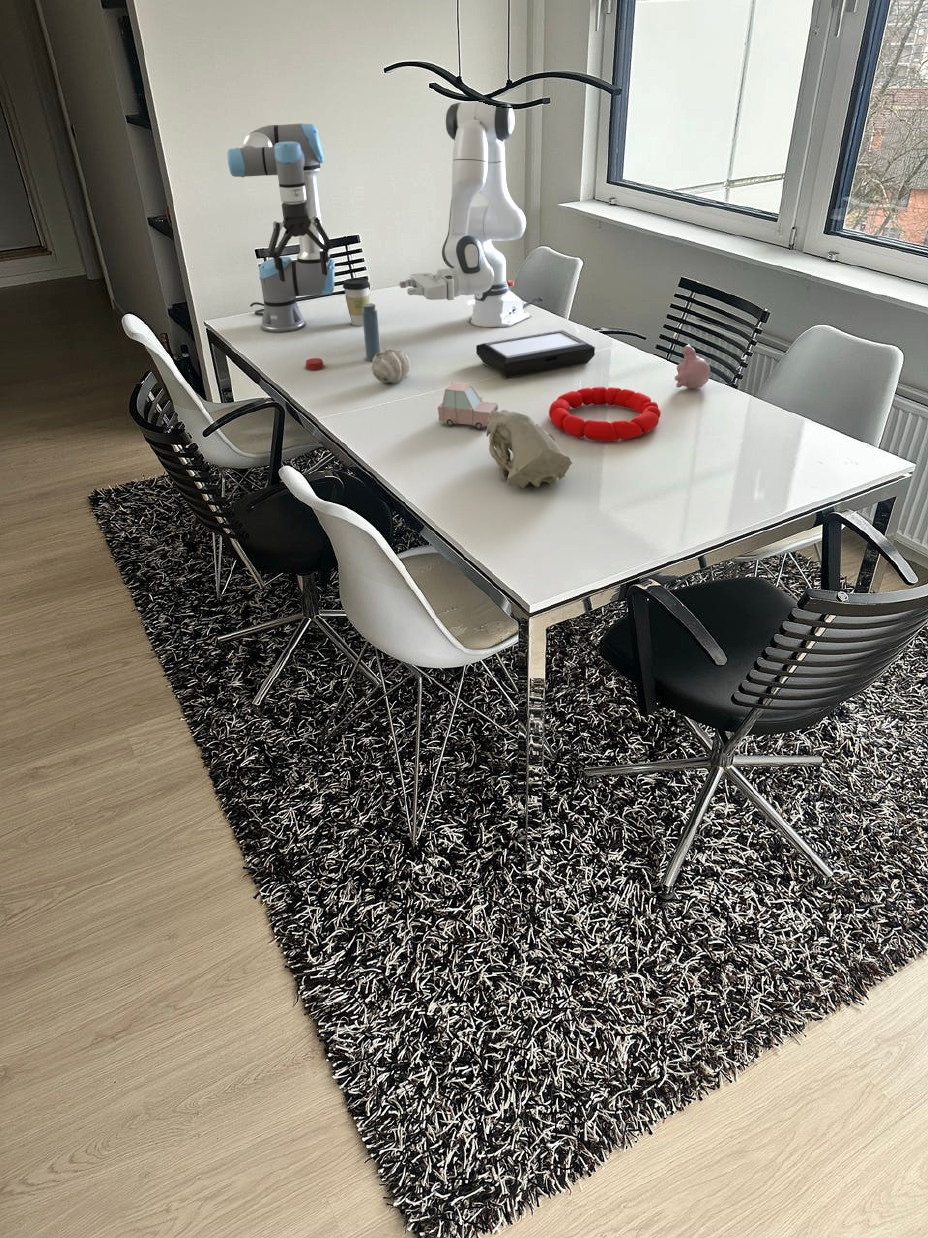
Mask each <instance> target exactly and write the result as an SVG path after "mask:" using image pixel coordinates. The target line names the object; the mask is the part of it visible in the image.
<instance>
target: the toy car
mask: <svg viewBox="0 0 928 1238" xmlns="http://www.w3.org/2000/svg"><path fill="white" fill-rule="evenodd" d="M498 409H499V404H498V403H497V402H490V401H489V402H487V401H483V397H481V396H480V395H479V394H478V393H477V391H476V390H475V389H474V386H472V384H469V383H459V382H451V383H450V384H449V385H448V386H447V387H446V388H445V389H444V394H443V399H442V403H440V404H439V405H438V406H437V413H438V421H439V422H443V423H446V425H447V426H448V427H452V426H454V425H455V424H461V425H469V426H473V427H475V429H476V430H479V431H480V430H481V429H483V428H485V427H486V428H487V423H488V422H490V414H491V413H492V412H496V411H499V410H498Z"/></svg>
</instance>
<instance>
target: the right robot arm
mask: <svg viewBox="0 0 928 1238" xmlns="http://www.w3.org/2000/svg"><path fill="white" fill-rule="evenodd" d="M498 102H499V103H502V104H505V105H501V106H505V107H512V106H511V104H510V103H508V102H505V101H498ZM515 118H516V117H515V113H514V109H513V107H512V108H502V107H496V106H493V105H488V104H485V103H483V102H479V101H467V102H455V103H452V104H450V106H449V108H448V109H447V111H446V114H445V128H446V133H447V134H448V136H449V137H450V139H452V140H453V141H454V143H453V150H452V162H451V163H452V165H451V167H452V168H451V169H452V170H451V173H452V174H451V199H450V209H449V219H448V229H447V234H446V235H447V236H446V238H445V240H444V243H443V245H442V249H441V257H442V260H443V262H444V264H445V265H446V266H447V267H448V268H441V269H438V270H437V271H436V273H431V272H419V273H411V274H409V279H406V280H401V281H399V284H398V285H399V288H401V289H406V288H407V289H406V291H407V295H409V296H423V298H425V299H426V300H430V301H436V300H437V301H438V300H439V301H440V300H447V301H454V300H455V298H456V297H459V296H473V295H474V296H473V299H472V300H468V301H467V305H471V304H472V313H471V320H470V323H471V324H472V325H475V326H477V327H483V328H485V327H486V328H495V327H496V328H497V327H508V328H509V327H511V326H513V325H515V324H517V323H519V322H521V321H524V320H526V319H528V318H529V317H530V313H529V312H527V311H525V310H524V308H525V307H526V306H528V305H530V304H532V303H534V302H535V301H537V300H539V301H541V302H543V299H542V298H541V297H535V298H533V299H532V300H530V301H528V302H526V303H524V304H523V301H522V299H521V298H520V297H518V296H517V295H516V294H515V293H514V292H512V291H511V290H510V287H511V288H512V287H514V285H515V281H514V280H511V279H508V280H507V261H506V258H505V256H504V254H503V253H502V252H501V251H499V250H498V249H496V248H495V247H494V245H493V243H492V241H496V242H510V241H516V240H519V239H521V238H522V236H523V235H524V234H525V230H526V226H527V219H526V216H525V213H524V212H523V210H522V209H521V208H519V207H518V205H516V203H515V202H514V200H513V199H512V197H511V195H510V193H509V190H508V186H507V178H506V177H507V176H506V151H505V142H506V140H507V139H509V138H510V136H511V135H512V134H513V132H514V128H515V121H516V120H515ZM479 194H480V195H482V197H484V199H485V200H486V202H487V204H473V202H474V200H475V199H476V197H477V196H478V195H479Z"/></svg>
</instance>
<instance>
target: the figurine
mask: <svg viewBox="0 0 928 1238" xmlns="http://www.w3.org/2000/svg"><path fill="white" fill-rule="evenodd" d="M682 354H683V358H684V359H683V361H682V362H679V363H678V364H677V365H676V372H677V375H675V376H674V381H675V382H676V381H677V382H676V384H675V386H676V388H681V387H686V388H688V389H693V390H694V389H695V390H696V389H700V388H703V387H704V386H705V385H706V384H707V383H708V382H709V379H710V377H711V367H710V364H709V362H708V361H706V359H704V358H702V357H700V356H697V353H696V350H695V349H694V347H692V345H690V344H686V345H685V346H684V347H683V348H682Z"/></svg>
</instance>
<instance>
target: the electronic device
mask: <svg viewBox="0 0 928 1238" xmlns="http://www.w3.org/2000/svg"><path fill="white" fill-rule="evenodd" d="M475 347H476V348H475V349H476V350H475V351H476V352H475V354H476V355H477V356H478V357H479V359H480V360H481V362H482V364H484V365H486V366H488V367H489V368H490V369H492V370H493V371H495V372H497V373H498V374H500V375H501V376H503V377H504V378H505V379H508V378H514V377H520V376H524V375H525V376H526V375H530V374H536V373H541V372H547V371H548V372H549V371H553V370H558V369H564V368H569V367H576V366H578V365H586V364H588V363H589V362H590V361H591V360H592V358H593V357H594V356H595V355H596V354H595V351H596V346H594V345H592V344H591V343H588V342H586V341H584V340H582V339H580V338H578V337H576V336H575V335H573V334H571V333H569V332H567V331H566V330H562V329H560V330H555V331H550V332H544V333H537V334H532V335H531V334H530V335H525V336H519V337H514V338H508V339H502V340H497V341H491V342H485V343H480V344H477V345H476V346H475Z"/></svg>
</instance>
